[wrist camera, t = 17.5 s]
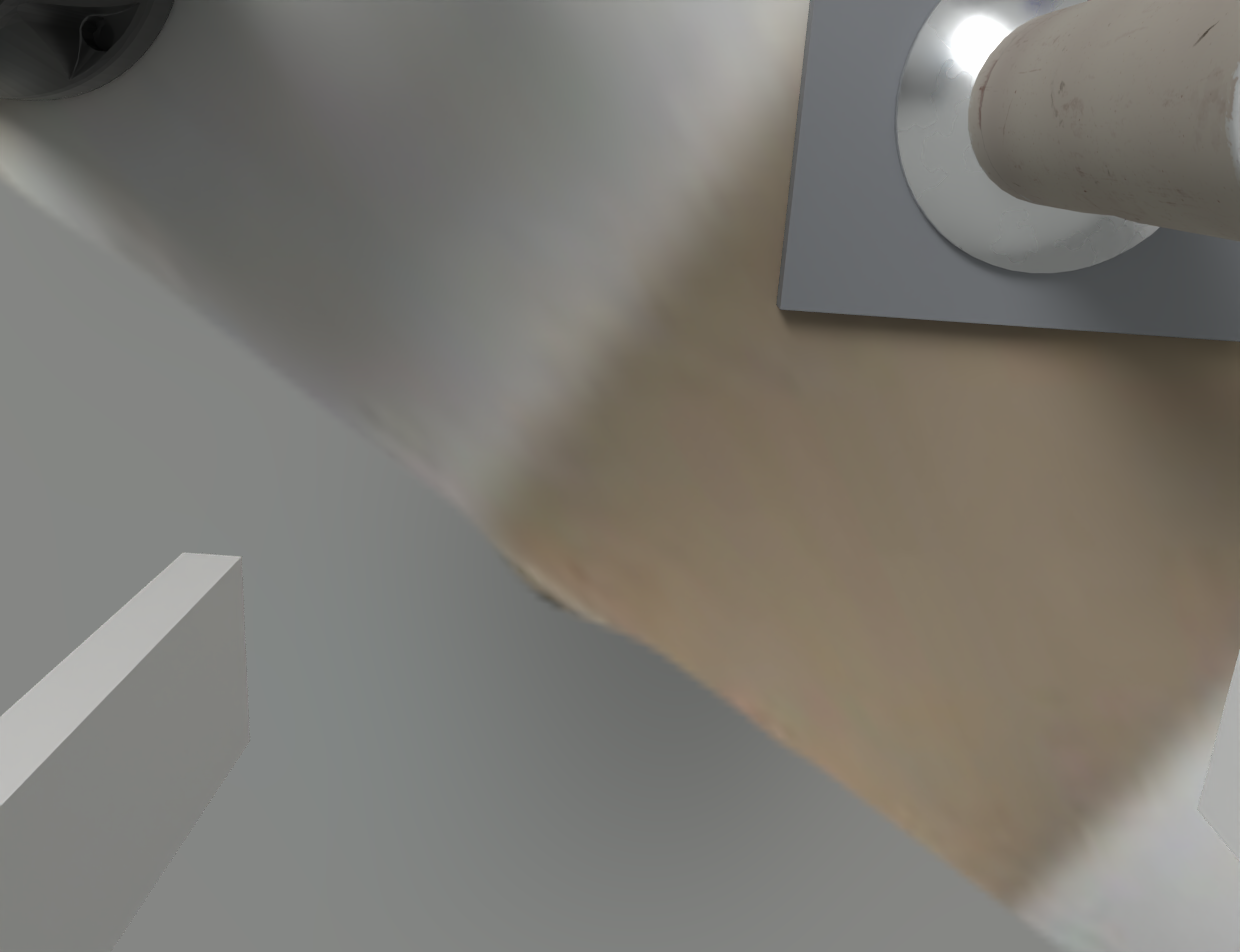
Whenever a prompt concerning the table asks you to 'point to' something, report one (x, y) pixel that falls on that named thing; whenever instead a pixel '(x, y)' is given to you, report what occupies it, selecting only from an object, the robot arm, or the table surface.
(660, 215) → the table surface
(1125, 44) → the thermos bottle
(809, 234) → the rosette base
